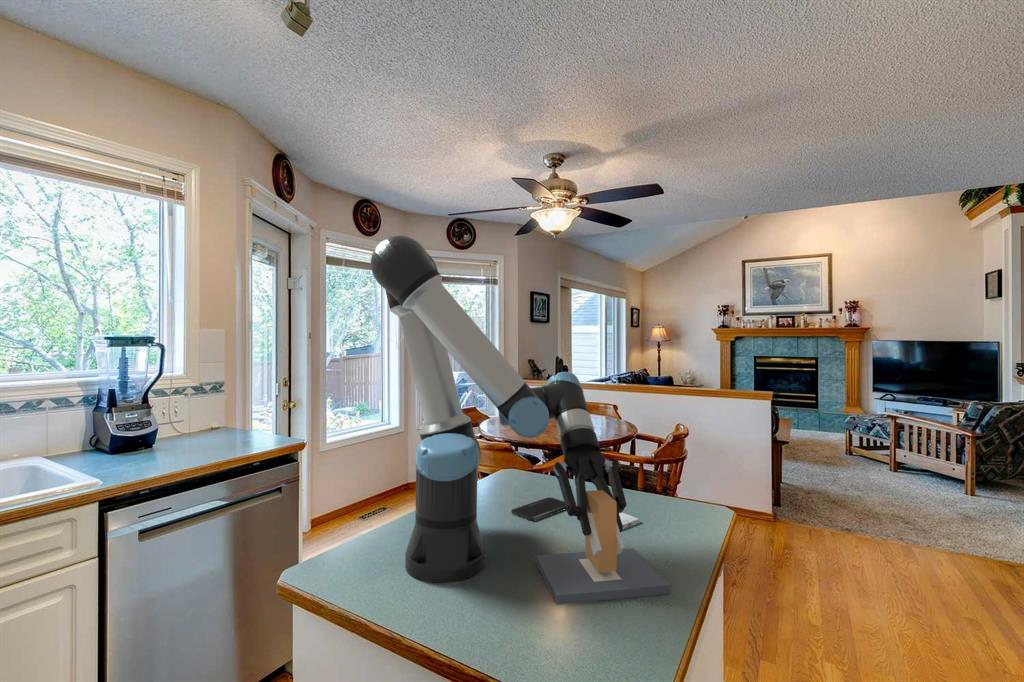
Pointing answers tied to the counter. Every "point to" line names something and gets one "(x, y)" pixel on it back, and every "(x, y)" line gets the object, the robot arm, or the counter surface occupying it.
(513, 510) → the phone
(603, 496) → the tan rectangular block
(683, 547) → the counter surface
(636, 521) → the hard drive
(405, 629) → the counter surface
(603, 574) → the header board
